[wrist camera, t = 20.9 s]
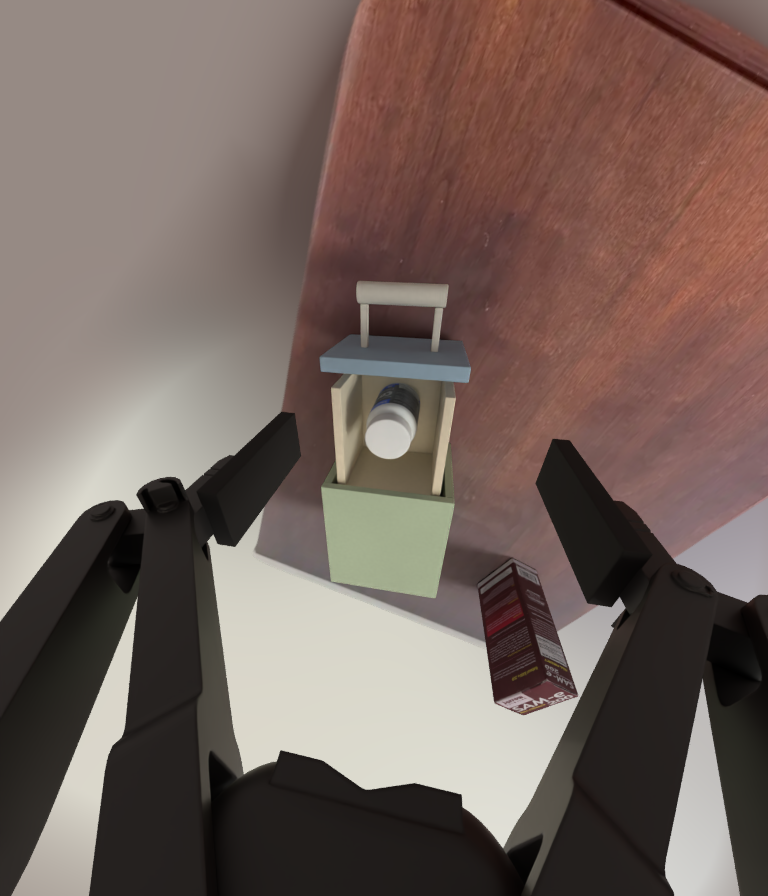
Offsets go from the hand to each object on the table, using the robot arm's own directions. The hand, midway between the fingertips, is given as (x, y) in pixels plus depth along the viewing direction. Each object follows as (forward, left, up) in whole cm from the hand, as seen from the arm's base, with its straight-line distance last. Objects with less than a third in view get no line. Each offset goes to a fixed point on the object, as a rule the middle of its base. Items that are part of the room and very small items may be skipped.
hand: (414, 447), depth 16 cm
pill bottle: (+2, -5, -17) cm, 18 cm away
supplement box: (+35, -10, -19) cm, 41 cm away
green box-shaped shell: (+11, -13, -19) cm, 26 cm away
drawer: (0, -3, -18) cm, 18 cm away
